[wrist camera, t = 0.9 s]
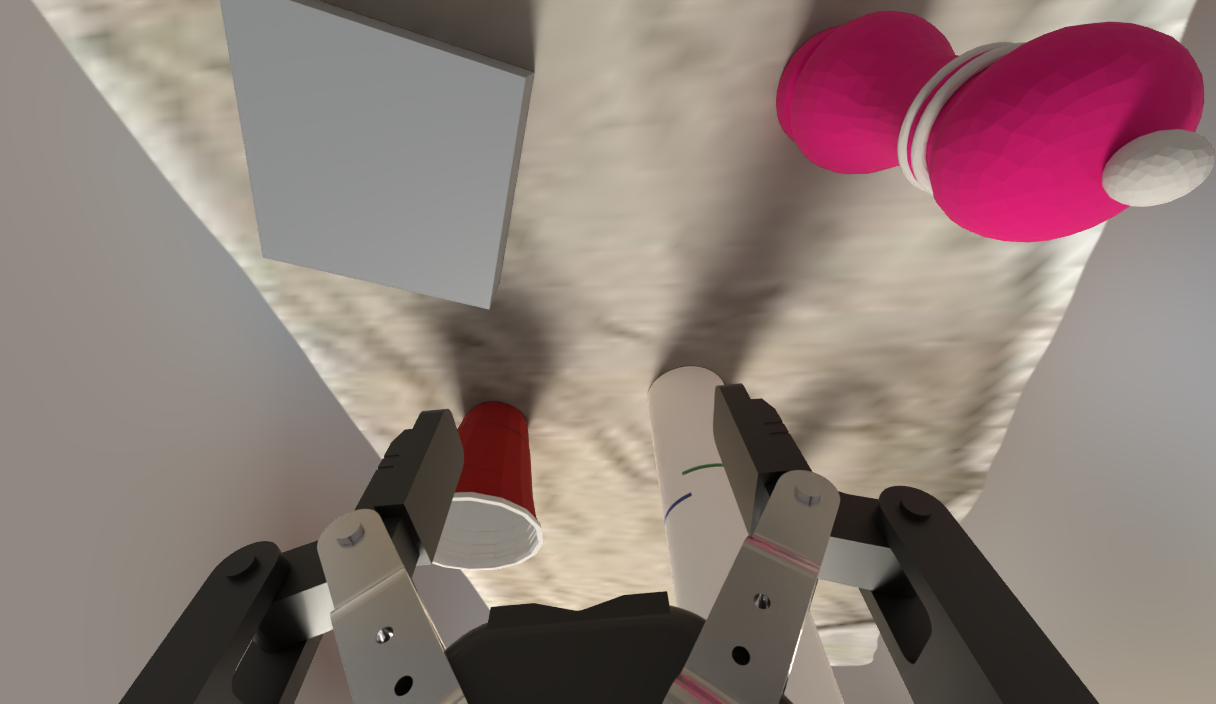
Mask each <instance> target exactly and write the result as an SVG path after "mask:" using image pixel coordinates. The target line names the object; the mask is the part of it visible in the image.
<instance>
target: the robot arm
mask: <svg viewBox="0 0 1216 704" xmlns="http://www.w3.org/2000/svg"><path fill="white" fill-rule="evenodd" d="M713 434H714V440H715V444H716V447H717V450H718V453H719V456H720V458H721V461H722V464H723V466H724V469H725V472H726V475H727V477H728V480H729V483H730V486H731V488H732V491H733V494H734V496H735V499H736V502H737V505H738V507H739V510H740V513H741V516H742V518H743V521H744V524H745V526H746V529H747V532H748V535H749V536H747V537H746V539H745V540H744V542H743V544H742V546H741V548H740V550H739V553H738V555H737V557H736V559H735V561H734V563H733V565H732V567H731V569H730V571H729V574H728V576H727V578H726V580H725V582H724V584H723V586H722V588H721V590H720V593H719V595H718V597H717V599H716V601H715V603H714V605H713V607H712V609H711V611H710V614H709V616H708V618H707V620H706V619H704V618H702V617H701V616H699V615H697V614H695V613H693V612H691V611H688V610H685V609H682V608H679V607H675V606H670V605H669V601H668V594H667V591H665V592H654V593H643V594H631V595H623V596H620V597H617V598H615V599H612V600H609V601H606V602H603V603H601V604H598V605H595V606H592V607H590V608H587V609H584V610H580V611H574V610H568V609H563V608H558V607H552V606H547V605H541V604H536V603H531V604H520V605H508V606H497V607H491V609H490V615H489V620H488V623H485V624H483V625H481V626H479V627H477V628H475V629H473V630H471V631H469V632H468V633H466V634H465V635H463V636H462V637H460V638H459V639H458V640H456V641H455V642H454V643H453V644H451V646H449V647H448V648H447V649H446V648H445V646H444V644H443V642H442V640H441V638H440V636H439V634H438V632H437V630H436V627H435V626H434V623H433V621H432V620H431V617H430V615H429V613H428V611H427V609H426V607H425V605H424V602H423V601H422V598H421V596H420V594H419V592H418V590H417V588H416V586H415V584H414V582H413V580H412V575H413V573H414V570H415V567H416V566H419V565H430V564H432V562H433V559H434V556H435V553H436V550H437V547H438V544H439V540H440V537H441V534H442V531H443V528H444V525H445V522H446V519H447V515H448V512H449V509H450V506H451V503H452V500H453V497H454V494H455V490H456V487H457V484H458V481H459V478H460V475H461V472H462V469H463V464H464V451H463V446H462V443H461V440H460V437H459V434H458V431H457V428H456V425H455V422H454V419H453V416H452V413H451V411H450V410H449V409H441V410H430V411H422V412H421V413H420V415H419V417H418V419H417V421H416V423H415V425H414V427H413V429H406V430H404V431H403V432H402V433H401V434H400V435H399V436H398V437H397V438H396V439H394V440H393V441H392V442H391V444H390V446H389V448H388V450H387V452H386V453H385V455H384V459H382V461H381V463H380V464H379V466H378V470H376V472H375V474H374V475H373V477H372V479H371V481H370V483H369V485H368V486H367V488H366V490H365V492H364V494H363V496H362V498H361V499H360V501H359V503H358V505H357V507H356V509H355V510H354V511H352V512H349V513H347V514H345V515H343V516H341V517H339V518H338V519H336V520H335V521H333V522H332V523H331V524H330V525H329V526H328V527H327V528H326V529H325V530H324V532H323V533H322V534H321V536H320V538H319V540H317V541H315V542H312V543H309V544H306V545H303V546H300V547H297V548H295V549H292V550H289V551H286V552H283V553H282V552H281V551H280V549H279V548H278V547H277V545H276V544H274V543H273V542H268V541H262V542H256V543H253V544H250V545H247V546H245V547H243V548H241V549H239V550H237V551H235V552H234V553H232V554H231V555H229V556H228V557H227V558H225V559H224V560H223V561H222V562H221V563H220V564H219V565H218V566H217V567H216V568H215V569H214V570H213V571H212V573H211V574H210V576H209V577H208V578H207V580H206V581H205V582H204V584H203V585H202V587H201V588H200V590H199V591H198V592H197V594H196V595H195V597H194V598H193V599H192V601H191V602H190V604H189V605H188V607H187V608H186V609H185V611H184V612H183V614H182V615H181V616H180V618H179V619H178V621H177V622H176V623H175V625H174V626H173V628H172V629H171V630H170V632H169V633H168V635H167V636H166V638H165V639H164V640H163V642H162V643H161V645H160V646H159V647H158V649H157V650H156V652H155V653H154V654H153V656H152V657H151V659H150V660H149V662H148V663H147V664H146V666H145V667H144V669H143V670H142V671H141V673H140V674H139V676H138V677H137V679H136V680H135V681H134V683H133V684H132V686H131V687H130V688H129V690H128V691H127V693H126V694H125V696H124V697H123V698H122V700H121V701H120V703H119V704H294V702H295V700H296V697H297V695H298V692H299V690H300V688H301V685H302V683H303V681H304V678H305V676H306V674H307V671H308V669H309V667H310V664H311V662H312V659H313V657H314V655H315V652H316V650H317V648H318V645H319V643H320V640H321V638H322V636H323V633H325V632H327V631H330V630H332V629H333V631H334V634H335V638H336V641H337V645H338V649H339V652H340V656H341V660H342V663H343V667H344V670H345V674H346V677H347V681H348V684H349V688H350V692H351V695H352V699H353V703H354V704H793V703H792V702H791V701H790V700H789V699H788V698H787V697H786V696H785V695H784V693H785V690H786V687H787V683H788V680H789V677H790V673H791V670H792V666H793V663H794V660H795V656H796V653H797V649H798V646H799V642H800V639H801V636H802V632H803V629H804V626H805V622H806V619H807V616H808V612H809V609H810V606H811V602H812V599H813V596H814V592H815V589H816V586H817V582H818V579H822V580H827V581H831V582H836V583H840V584H845V585H849V586H854V587H858V588H859V590H860V592H861V594H862V596H863V598H864V600H865V602H866V604H867V606H868V608H869V610H870V613H871V615H872V617H873V619H874V621H875V623H876V625H877V627H878V629H879V631H880V633H881V635H882V637H883V639H884V641H885V644H886V646H887V648H888V650H889V652H890V654H891V656H892V658H893V660H894V662H895V664H896V666H897V668H898V671H899V673H900V675H901V677H902V679H903V681H904V683H905V685H906V687H907V689H908V691H909V693H910V695H911V697H912V700H913V702H914V704H1099V703H1098V701H1097V700H1096V699H1095V698H1094V697H1093V695H1092V694H1091V693H1090V691H1089V690H1088V689H1087V687H1086V686H1085V685H1084V684H1083V682H1082V681H1081V680H1080V678H1079V677H1078V676H1077V675H1076V673H1075V672H1074V671H1073V670H1072V668H1071V667H1070V666H1069V664H1068V663H1067V662H1066V660H1065V659H1064V658H1063V657H1062V655H1061V654H1060V653H1059V652H1058V650H1057V649H1056V648H1055V647H1054V645H1053V644H1052V643H1051V641H1050V640H1049V639H1048V638H1047V636H1046V635H1045V634H1044V632H1043V631H1042V630H1041V628H1040V627H1039V626H1038V625H1037V623H1036V622H1035V621H1034V620H1033V618H1032V617H1031V616H1030V614H1029V613H1028V612H1027V611H1026V609H1025V608H1024V607H1023V605H1022V604H1021V603H1020V602H1019V600H1018V599H1017V598H1016V596H1015V595H1014V594H1013V593H1012V591H1011V590H1010V589H1009V587H1008V586H1007V585H1006V584H1005V582H1004V581H1003V580H1002V579H1001V577H1000V576H999V575H998V573H997V572H996V571H995V570H994V569H993V567H992V566H991V564H990V563H989V562H988V561H987V559H986V558H985V557H984V555H983V554H982V553H981V552H980V550H979V549H978V548H977V546H976V545H975V544H974V543H973V541H972V540H971V539H970V538H969V537H968V535H967V534H966V532H965V531H964V530H963V529H962V527H961V526H960V525H959V523H958V522H957V521H956V520H955V518H954V517H953V516H952V514H951V513H950V512H949V511H948V509H947V508H946V507H945V506H944V505H943V504H942V503H941V502H940V501H939V500H937V499H936V498H935V497H933V496H931V495H930V494H928V493H926V492H924V491H922V490H919V489H916V488H912V487H907V486H892V487H889V488H887V489H885V490H884V491H883V492H882V493H881V494H880V497H879V499H873V498H867V497H861V496H855V495H850V494H845V493H842V492H839V491H837V489H836V487H835V486H834V485H833V484H832V483H831V482H830V481H829V480H827V479H826V478H825V477H823V476H821V475H819V474H816V473H814V472H812V470H811V469H810V467H809V465H808V464H807V462H806V460H805V459H804V457H803V455H802V454H801V452H800V450H799V448H798V447H797V445H796V443H795V442H794V440H793V438H792V437H791V435H790V434H789V433H788V430H787V428H786V427H785V425H784V424H783V423H782V420H781V418H780V416H779V415H778V413H777V411H776V410H775V408H773V407H772V406H771V405H769V404H768V403H767V402H765V401H764V400H763V399H762V398H761V399H750V397H749V395H748V393H747V391H746V389H745V387H744V386H743V384H741V383H740V384H728V385H717V386H716V388H715V397H714V414H713ZM251 640H252V642H251ZM250 642H251V644H250ZM249 644H250V646H249V648H248V650H247V651H246V649H247V647H248V645H249ZM245 651H246V653H245ZM244 653H245V655H244V657H243V659H242V660H241V658H242V656H243V654H244ZM240 660H241V662H240ZM239 662H240V664H239ZM238 664H239V666H238V668H237V670H236V671H235V669H236V667H237V665H238ZM234 672H235V673H234Z"/></svg>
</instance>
